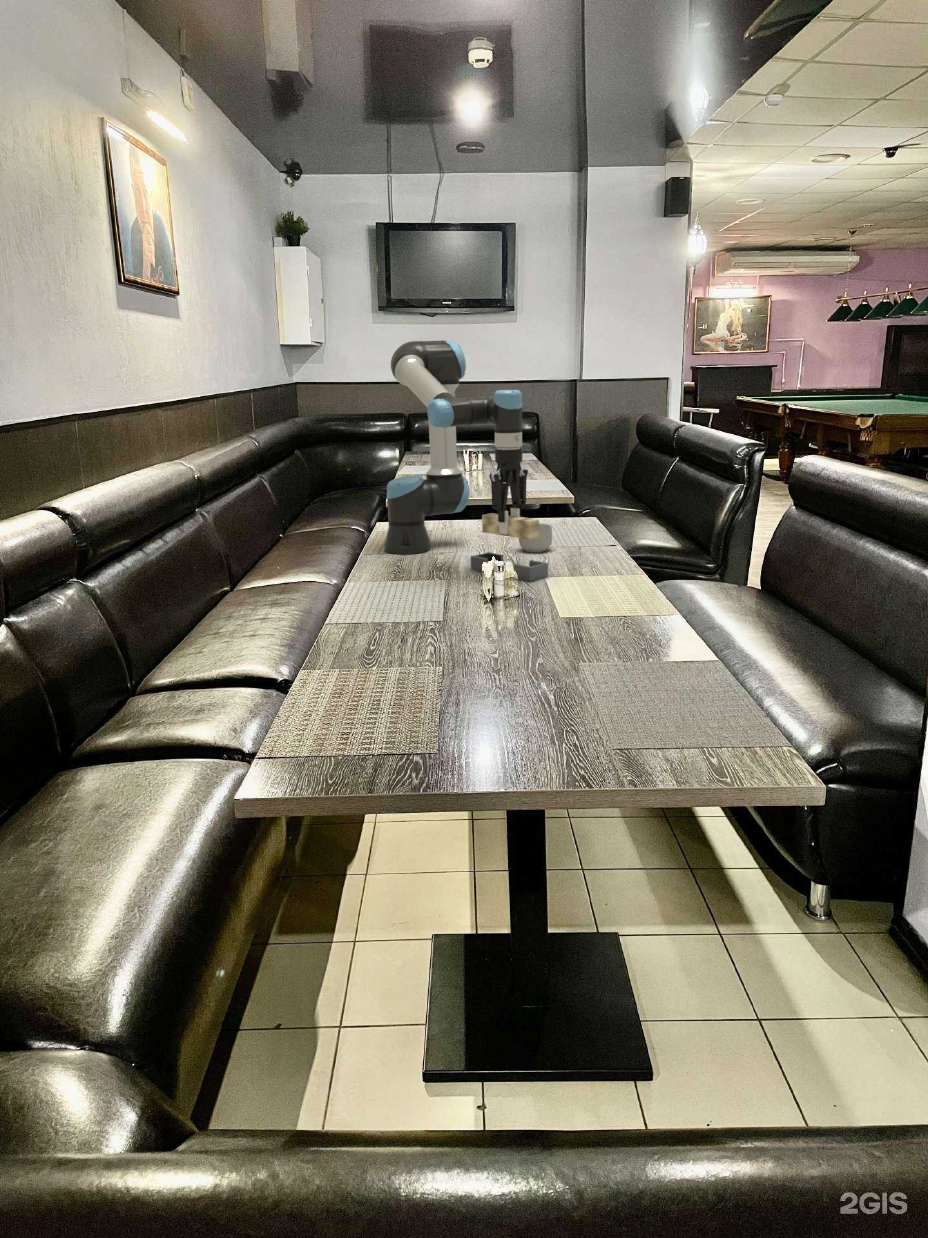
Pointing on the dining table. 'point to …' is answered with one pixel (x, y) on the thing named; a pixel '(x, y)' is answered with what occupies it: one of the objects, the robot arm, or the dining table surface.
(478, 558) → the grey u-channel bracket
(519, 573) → the grey hollow tray
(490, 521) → the tan long bar
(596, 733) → the dining table surface
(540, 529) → the teacup
